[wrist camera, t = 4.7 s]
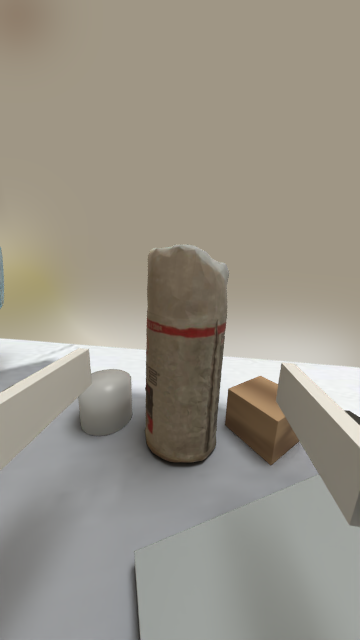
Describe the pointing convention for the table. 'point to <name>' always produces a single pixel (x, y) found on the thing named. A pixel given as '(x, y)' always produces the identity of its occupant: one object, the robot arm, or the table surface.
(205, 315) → the red-banded paper cylinder
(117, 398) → the white rounded cylinder
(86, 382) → the robot arm
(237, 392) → the walnut block
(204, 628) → the slate board
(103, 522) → the table surface
